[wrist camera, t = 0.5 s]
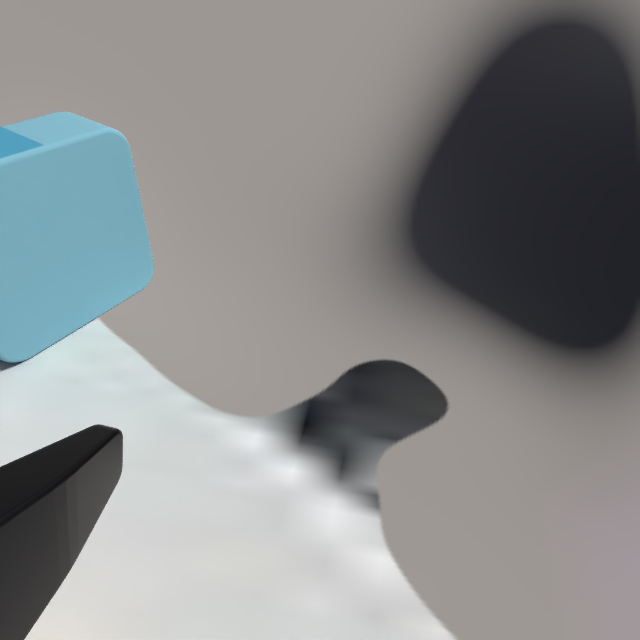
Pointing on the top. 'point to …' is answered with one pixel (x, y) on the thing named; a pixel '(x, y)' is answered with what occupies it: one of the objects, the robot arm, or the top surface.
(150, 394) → the top surface
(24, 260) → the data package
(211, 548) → the top surface
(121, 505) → the top surface
